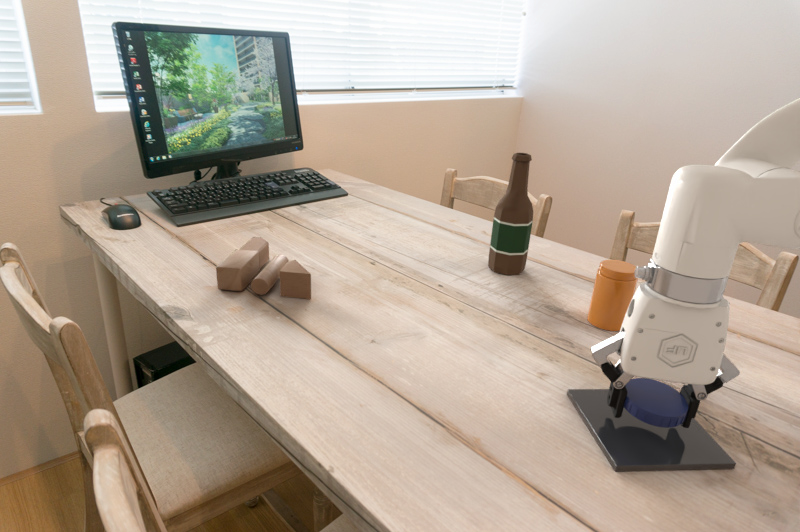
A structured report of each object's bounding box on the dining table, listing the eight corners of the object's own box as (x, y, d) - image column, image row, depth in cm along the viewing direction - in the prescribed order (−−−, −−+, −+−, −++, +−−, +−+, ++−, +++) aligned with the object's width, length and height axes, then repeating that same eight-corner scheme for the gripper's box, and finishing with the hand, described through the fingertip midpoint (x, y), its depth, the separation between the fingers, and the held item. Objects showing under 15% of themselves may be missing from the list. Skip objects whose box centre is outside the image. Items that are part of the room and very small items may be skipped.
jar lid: (617, 382, 67) (621, 372, 66) (679, 396, 65) (682, 385, 65) (622, 418, 61) (625, 407, 60) (690, 434, 59) (694, 423, 58)
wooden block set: (212, 262, 91) (250, 230, 107) (214, 292, 93) (252, 256, 109) (309, 271, 89) (332, 237, 106) (309, 301, 91) (332, 263, 108)
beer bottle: (487, 260, 115) (501, 148, 106) (523, 264, 114) (540, 152, 105) (487, 273, 108) (502, 155, 99) (526, 277, 107) (545, 159, 98)
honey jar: (616, 314, 94) (629, 259, 90) (632, 331, 88) (647, 274, 84) (581, 312, 94) (592, 258, 90) (595, 330, 88) (608, 272, 84)
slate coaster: (665, 393, 72) (666, 388, 72) (734, 469, 59) (736, 463, 59) (566, 394, 70) (567, 389, 70) (615, 471, 58) (616, 465, 57)
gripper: (608, 285, 55) (578, 424, 62) (789, 306, 53) (737, 448, 59) (596, 260, 62) (570, 387, 69) (756, 277, 60) (712, 407, 66)
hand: (648, 414), depth 64 cm, fingers closed on jar lid, 7 cm apart
